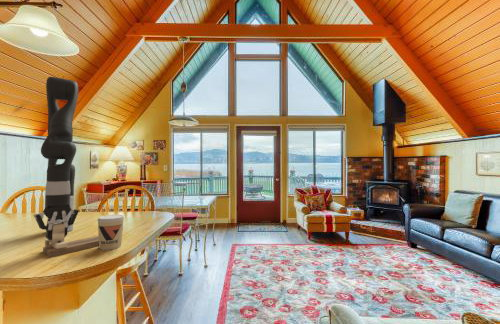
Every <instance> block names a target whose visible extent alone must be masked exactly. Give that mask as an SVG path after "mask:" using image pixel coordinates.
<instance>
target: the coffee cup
mask: <svg viewBox="0 0 500 324" xmlns="http://www.w3.org/2000/svg"><path fill="white" fill-rule="evenodd" d="M124 219H125V217H124V215H122V214H107V215H102V216H99V217H98V219H97V223H98V224H97V227H98V228H97V231H98V236H99V246H98V247H99V249H100V250H103V251H105V250H106V251H108V250H114V249H115V250H116V249H118V248H120V247H121V246H122V242H123V241H122V240H123V231H124V221H125V220H124Z"/></svg>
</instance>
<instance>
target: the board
mask: <svg viewBox="0 0 500 324" xmlns="http://www.w3.org/2000/svg"><path fill="white" fill-rule="evenodd" d="M66 242H67V247H65V248H60V249H56V248H54V247H52V246H46V247H45V246H43V247H42V254H44V255H47V256H48V257H50V258H53V257H57V256H61V255H64V254H65V255H66V254H70V253H74V252H77V251H82V250H86V249H90V248H94V247H99V235H95V236H91V237H86V238H81V239H76V240H71V241H66Z"/></svg>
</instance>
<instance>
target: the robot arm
mask: <svg viewBox="0 0 500 324" xmlns="http://www.w3.org/2000/svg"><path fill="white" fill-rule="evenodd" d="M45 87H46V89H45V91H46V101H47V136H46V138H45V139H44V141H43V143H42V144H41V147H40V154H41V156H42V157H43V158H44V159H46V160H47V169H46V184H45V189H44V195H45V196H44V209H43V211H42V212H39V213H35V214H33V217H34V219H35V221H36V223H37V225H38V227H39V229H41V230H45V238H46V240H52V227H53V224H56V223H63V224H65V233H64V238H66V236H68V232H70V231H73V230H74V224H75V221H76V219H77V216H78V214H79V212H80V211H79V210H78V209H77V208H76V209H74V206H75V205H74V204H75V203H74V201H75V179H76V178H75V177H76V168H75V167H76V166H75V165H74V164H73V161H74V159H75V156H76V153H77V146H76V144H75V143H74V142H73V133H74V132H73V131H74V129H73V121H74V115H75V112H76V109H77V108H76V107H77V103H78V98H79V85H78V83H77V81H76V80H73V79H72V80H71V79H65V78H63V77H62V78H61V77H56V76H49V77H47V79H46V83H45ZM57 100H59V101H66V103H65V104H64V105H63V106H62V107H61V108H60V107H59V104H58V102H57ZM58 160H64V161H63V162H62V163H58ZM44 216H45V217H46V218H47V219H46V224H45V222H44V220H43V219H44Z"/></svg>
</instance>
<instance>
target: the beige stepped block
mask: <svg viewBox="0 0 500 324" xmlns="http://www.w3.org/2000/svg"><path fill="white" fill-rule="evenodd" d="M64 233H65V224H63V223H56V224H53V227H52V240H48V239H45V240H44V247H46V246H52V247H54V248H56V249H60V248H65V247H67V242H68V241H65V237H64Z"/></svg>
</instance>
